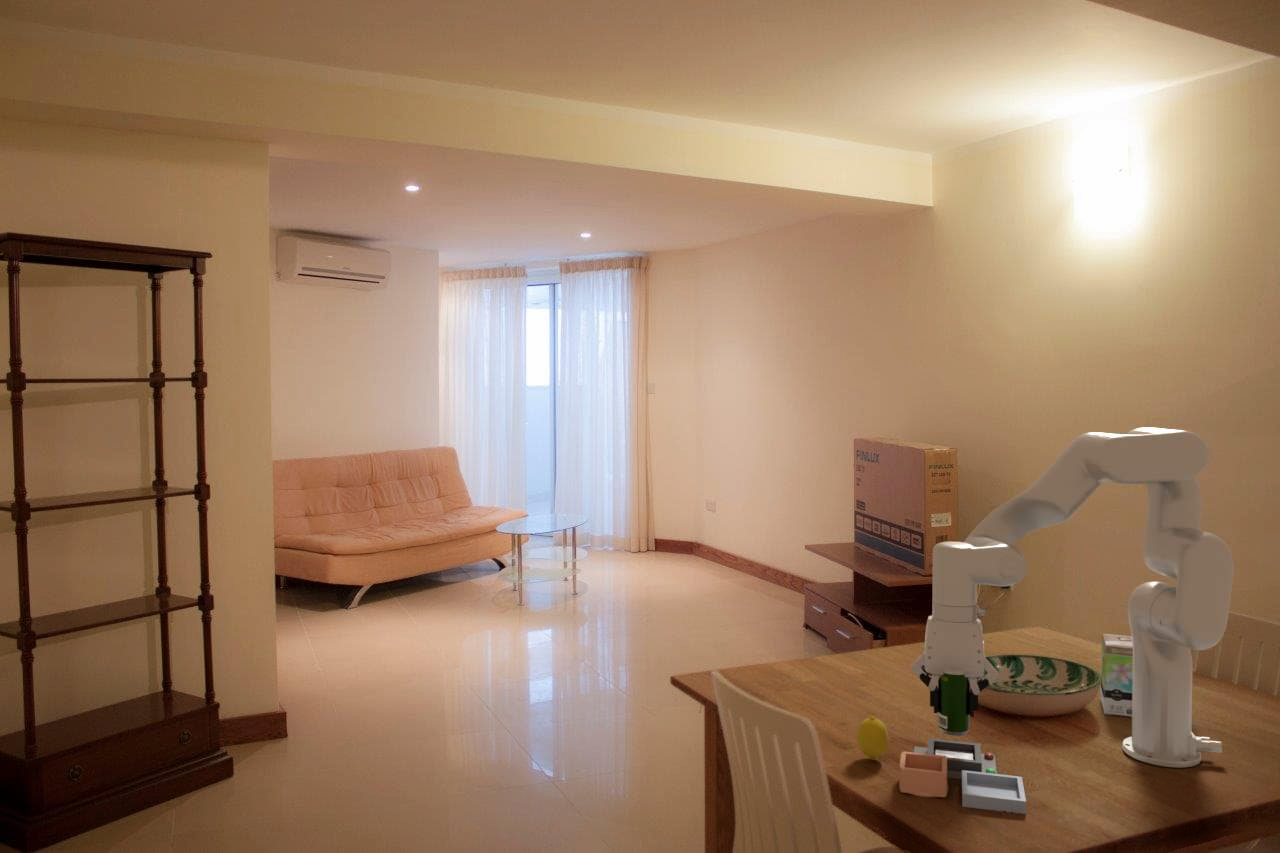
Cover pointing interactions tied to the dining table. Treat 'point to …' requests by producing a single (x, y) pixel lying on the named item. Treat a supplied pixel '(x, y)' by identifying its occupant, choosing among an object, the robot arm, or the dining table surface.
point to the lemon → (872, 737)
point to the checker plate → (954, 753)
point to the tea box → (1116, 674)
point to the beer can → (953, 702)
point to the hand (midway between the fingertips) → (953, 711)
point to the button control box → (956, 765)
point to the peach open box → (923, 774)
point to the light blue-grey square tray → (993, 792)
